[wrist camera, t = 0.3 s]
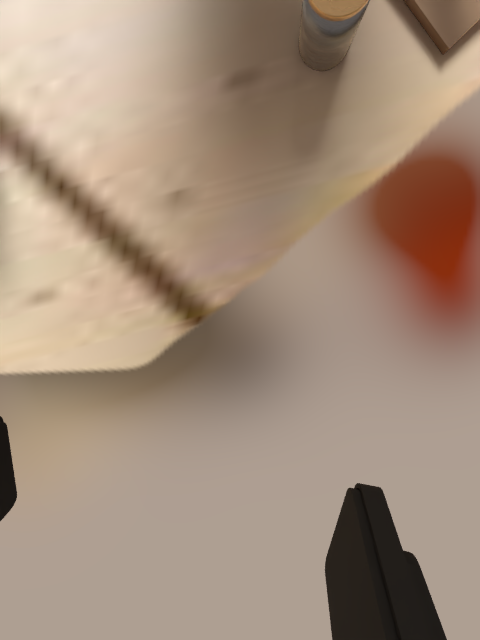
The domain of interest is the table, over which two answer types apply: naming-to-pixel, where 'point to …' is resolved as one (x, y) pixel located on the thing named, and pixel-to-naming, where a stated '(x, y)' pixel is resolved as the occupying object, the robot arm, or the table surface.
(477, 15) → the docking plate
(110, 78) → the table surface
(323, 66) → the gold topped cylinder
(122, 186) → the table surface
